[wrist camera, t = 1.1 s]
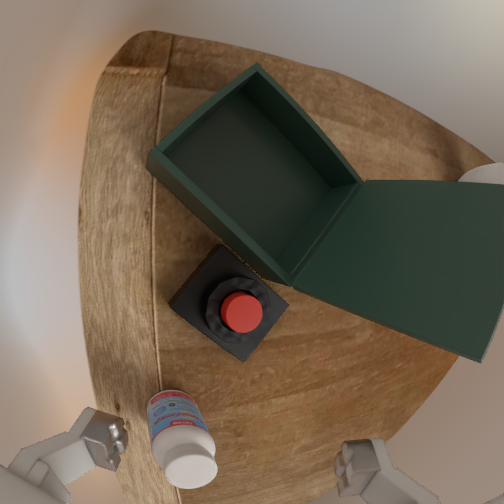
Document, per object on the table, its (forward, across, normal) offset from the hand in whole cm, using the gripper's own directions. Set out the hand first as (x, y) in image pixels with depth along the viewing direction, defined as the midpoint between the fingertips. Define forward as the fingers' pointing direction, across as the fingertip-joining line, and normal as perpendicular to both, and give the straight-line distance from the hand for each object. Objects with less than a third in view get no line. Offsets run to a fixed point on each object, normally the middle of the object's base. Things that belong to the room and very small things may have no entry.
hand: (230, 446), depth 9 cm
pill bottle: (+17, +8, +17) cm, 25 cm away
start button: (+19, +1, +4) cm, 20 cm away
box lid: (+15, -12, -6) cm, 20 cm away
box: (+27, +1, -9) cm, 28 cm away
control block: (+22, +3, +5) cm, 23 cm away
